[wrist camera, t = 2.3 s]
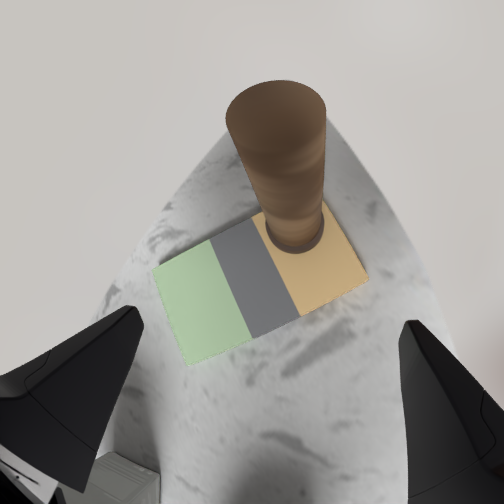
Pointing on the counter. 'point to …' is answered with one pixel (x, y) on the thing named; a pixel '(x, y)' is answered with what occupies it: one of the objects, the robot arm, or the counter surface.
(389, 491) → the counter surface
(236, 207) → the counter surface
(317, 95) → the walnut peg
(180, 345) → the striped board
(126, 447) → the counter surface
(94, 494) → the skincare box
